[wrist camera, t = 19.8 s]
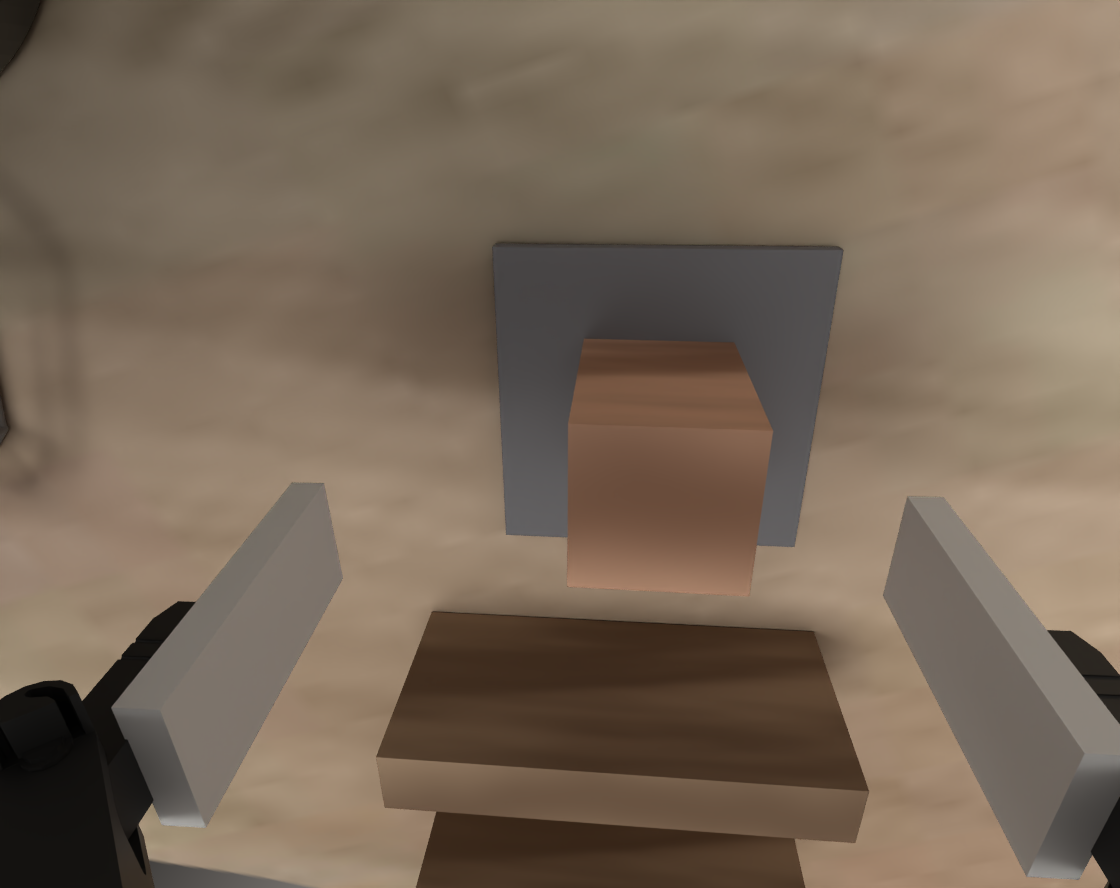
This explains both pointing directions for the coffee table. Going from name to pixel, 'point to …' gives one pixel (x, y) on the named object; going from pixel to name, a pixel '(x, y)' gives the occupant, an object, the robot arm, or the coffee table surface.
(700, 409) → the block
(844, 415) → the coffee table surface
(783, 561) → the coffee table surface
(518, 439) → the mat
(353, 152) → the coffee table surface
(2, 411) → the geometric lantern
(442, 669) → the brown parallel walls
